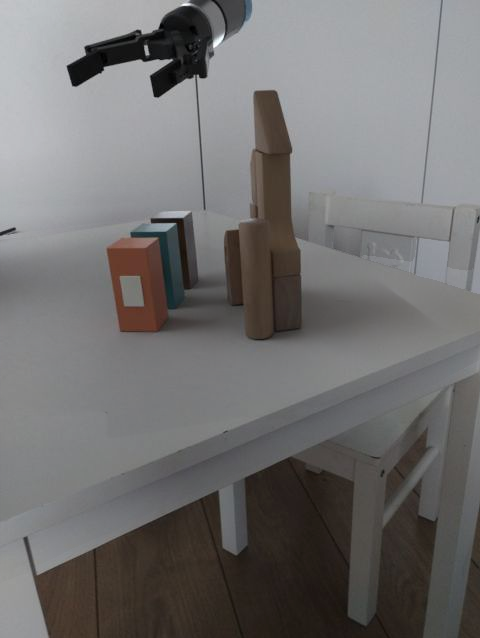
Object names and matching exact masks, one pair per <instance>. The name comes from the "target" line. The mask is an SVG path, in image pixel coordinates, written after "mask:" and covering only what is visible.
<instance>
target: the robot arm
mask: <svg viewBox="0 0 480 638" xmlns="http://www.w3.org/2000/svg"><path fill="white" fill-rule="evenodd" d="M252 13H253V0H188V1H185V2H183V3H182V4H181V5H180V6H178V7H176V8H174V9H172V10H171V11H169V12H167V13H165V14H164V16H162V19H161V20H160V23H159V25H158V27H157V28H158V29H154V30H152V31H151V32H148V33H143V31H142V29H135V30H133V31H131V32H129V33H126V34H123V35H119V36H115V37H112V38H107V39H105V40H102V41H98V42H94V43H91V44H86V45H84V47H83V48H84V53H85V55H84V56H81V57H80V58H78V59H76V60H75V61H73V62H71V63H69V64H67V65H66V70H67V74H68V76H69V80H70V83H71V84H70V85H71V86H72V87H74V88H78V87H79V86H81V85H82V84H84V83H86V82H87V81H89V80H90V79H93V78H94V77H96V76H98V75H99V74H100V75H101V74H102V73H103V72H104V71H105V68H107V67H110V66H111V67H112V66H116V65H120V64H121V65H122V64H125V63H131V62H135V61H139V60H140V61H141V62H142V63H147V62H152V61H153V62H154V61H157V60H158V61H167V60H168V61H169V62H168V63H166V64H165V65H163V66H162V67H161V68H159V69H158V70H156V71H154V72H153V73H152V74H150V75H149V79H150V86H151V90H152V95H153V98H157V99H159V98H161V97H162V96H163V95H165V94H166V93H168V92H169V91H170V90H172V89H173V88H175V87H176V86H177V85H179V84H181V83H183V82H184V81H185V80H192V79H194V78H195V76H198V78H199V79H202V80H204V79H205V80H206V79H207V78H208V77H209V76H208V75H209V70H210V69H209V68H210V61H211V59H212V58H213V57H214V56H215V48H216V47H218V46H220V45H221V44H222V43H223V42H225V41H227V40H229V39H230V38H231V37H233V36H234V35H236V34H239V32H240V31H241V30H243V29H244V27H245V26H246V25H247V24H248V23H249V22H250V19H251V17H252ZM146 46H147V51H148V54H146V49H145V47H146ZM170 60H171V61H170ZM15 231H17V227H15V226H13V227H11V228H8V229H5V230H2V231H0V237H1V236H4V235H7V234H10V233H12V232H15Z"/></svg>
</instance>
